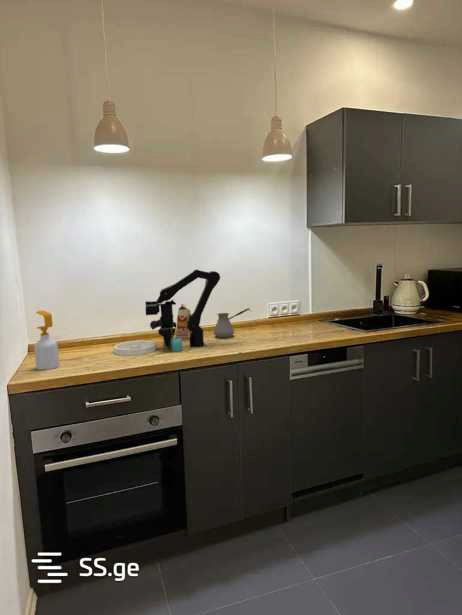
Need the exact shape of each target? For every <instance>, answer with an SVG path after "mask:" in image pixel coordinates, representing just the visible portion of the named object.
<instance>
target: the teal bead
mask: <svg viewBox="0 0 462 615" xmlns="http://www.w3.org/2000/svg"><path fill="white" fill-rule="evenodd" d="M171 345H172V349H171V352H172V353H180V352H182V351H183V341H182V338H175V337H173V338H172V339H171Z"/></svg>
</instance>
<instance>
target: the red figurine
mask: <svg viewBox="0 0 462 615" xmlns="http://www.w3.org/2000/svg"><path fill="white" fill-rule="evenodd" d="M189 314H190V315H192V313H191V310H190V309H189V308H188V307H187V306H186V305H185V304H183V303H181V306H179V308H178V309H177V316H176V326H177V327H176V330H175V336H174V338H182V342H190V339H189V337H190V334H191V333H192V332H191V331H189V330H188V328H187V326H186V320H187V319H188V315H189Z"/></svg>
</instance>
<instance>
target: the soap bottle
mask: <svg viewBox="0 0 462 615" xmlns="http://www.w3.org/2000/svg"><path fill="white" fill-rule="evenodd" d="M36 314H38V315H41V316H43V319H44V325H42V326H41V325H40V326H37V327H36V329H37V330H38V329H40V331H41V333H39V334H40V339H39V340H38V341H36V343H35V344H34V345H33V346H34V347H33V348H34V349H33V350H34V357H35V358H34V359H35V367H36V370H39V371H49V370H53V369H56V368H58V367H59V366H60V358H59V357H60V356H59V349H58V348H59V347H58V346H59V344H58V342H57V341H56V340H54V339H52V338H50V333H49V332H47V331H48V329H49V328H52V327H53V316H52V313H51V312H48V311H46V310H38V311H36Z"/></svg>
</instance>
